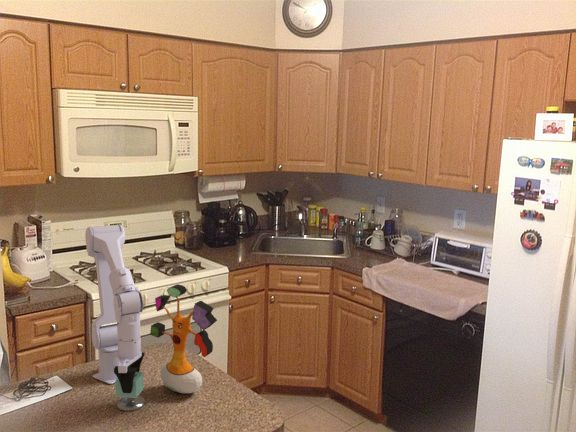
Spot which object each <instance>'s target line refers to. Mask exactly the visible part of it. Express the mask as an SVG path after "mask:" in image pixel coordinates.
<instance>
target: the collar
mask: <svg viewBox="0 0 576 432" xmlns="http://www.w3.org/2000/svg"><path fill="white" fill-rule="evenodd" d="M144 382H145V381H144V372H143V371H139V372H136V373H135V376H134V380H133V388H132V392H131V393H123V392H122V389H121V385H120V382H119V379H118V378H117V379H116V382H115V397H117V398H124V397H128V398H137V397H138V396H139V395H140V394H141V393H142V391H143V390H144V389H145V387H144V386H145V384H144Z"/></svg>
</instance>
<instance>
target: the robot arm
mask: <svg viewBox="0 0 576 432" xmlns="http://www.w3.org/2000/svg"><path fill="white" fill-rule="evenodd" d="M84 238H85V246H86V247H85V248H86V252H87V255H88V256H89V257H91V258H93V259H94V262H95V269H96V278H97V279H96V280H97V281H96V282H97V288H98V289H97V290H98V297H99V298H98V300H99V307H100V314H99V316H97V317H96V318H95V319H94V320H93V322H92V324H91V342H92V345H93V348H94V349H96V350H98V372H97V373H95V374H93V375H92V378H94V379H96V380H99V381H101V382H104V383H106V384H108V385H112V384H116V379H117V378H118V379H119V382H120V385H121V389H122V392H123V393H131V392H132V388H133V380H134V376H135V373H136V372H141V371H140V370H141V365H142V362H143V359H144V357H145V354H146V353H145V352H144V351H142V346H141V345H142V342H141V340H142V339H141V337H142V336H141V335H142V334H141V330H142V329H141V313H143V310H144V300H143V299H144V298H143V294H142V292H141V290H140V289H139V288H138V286H135V285H136V284H135V281H134V278H133V276H132V272H131V271H130V269H128V268H127V267H126V266H125V262H124V257H123V252H122V249H123V248H124V244H125V242H126V233H125V229H124V227H123V225H122V224H121V223H120V224H114V225H113V224H112V225H101V226H100V225H98V226H87V228H86V230H85V236H84Z"/></svg>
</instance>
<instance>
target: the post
mask: <svg viewBox="0 0 576 432" xmlns="http://www.w3.org/2000/svg"><path fill="white" fill-rule="evenodd" d="M145 403H146V402H145V398H143V397H142V396H139V395H138V397H137V398H128V397H121V398H120V399H119V400H118V401H117V402H116V408H117V409H118V410H120V411H121V412H127V413H128V412H135V411H139V410H141V409H142V408H143V407H144V406H145Z"/></svg>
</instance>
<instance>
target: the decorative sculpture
mask: <svg viewBox="0 0 576 432" xmlns="http://www.w3.org/2000/svg"><path fill="white" fill-rule="evenodd" d="M187 289H188V288H186V286H184V285H182V284H174V285H173V286H169V287H168V288H167V289H166V292H167V293H168V295H167V294H162V295H159V296H157V297H154V300H155V309H156V312H160V311H162V310H165V311H166V313H167V317H168V318H170V320H171V321H172V333H169V332H166V325H165V324H164V323H161V322H158V321H157V322H155V323H153V324H151V325H150V333H149V335H151V336H153V337H154V338H158V339H159V338H161V337H162V336H164V335H167V336H169V337H170V339H171V341H172V344H173V353H172V357H171V360H170V361H169V362H167V363H165V364H163V365H162V367H161V369H160V378H161V380H162V383H163V384H164V385H165V387H167V388H168V389H170V390H171V391H174V392H176V393H179V394H192V393H193V394H194V393H195V392H197V391H198V390H200V388H201V386H202V384H203V377H202V375H201V373H200V371H198V370H197V369H196V368H195V367H194V366H192V365H191V364H190V362H189V361H188V360H187V358H186V353H185V349H186V346H187V339H188V335H189V334H192V335H194V343H193V344H194V345H195V346H197V347H198V348H199V349H200V353H201V357H204V358H205V357H208V356H209V355H210V354H211V353H212V352H213V351H214V345H213V342H212V340H211V339H210V338H209V334H208V332H207V331H206V329H207V330H208V328H210V327H211V326H212V325H214V324H215V323H216V322H217V321H218V319H217V318H216V317H215V316H214V315H213V313H212V312H213V310H214V309H215V308H214V307H213V306H211V305H209V304H207V303H206V302H204V301H203V300H199V301H197V302H195V303H194V306H193V311H191V312H190V313H189V314H188V315H187V316H186V317H185V316H183V315H182V314H181V313H180V299H179V298H178V297H180V296H183V295H185V294H186V293H187ZM171 297H173V298H176V301H177V304H176V305H177V307H176V310H177V312H176V315H175V316H174V317H173V316H172V315H171V313H170V312H169V310H168V309H167V308H166V305H167V303H168V301H169V299H170V298H171ZM191 319H192V320H193V321H194V322H195V324H197V326H199V328H200V329H202V330H201V331H199V332H195V331H193V329H192V327H191V322H192V321H191Z"/></svg>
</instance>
